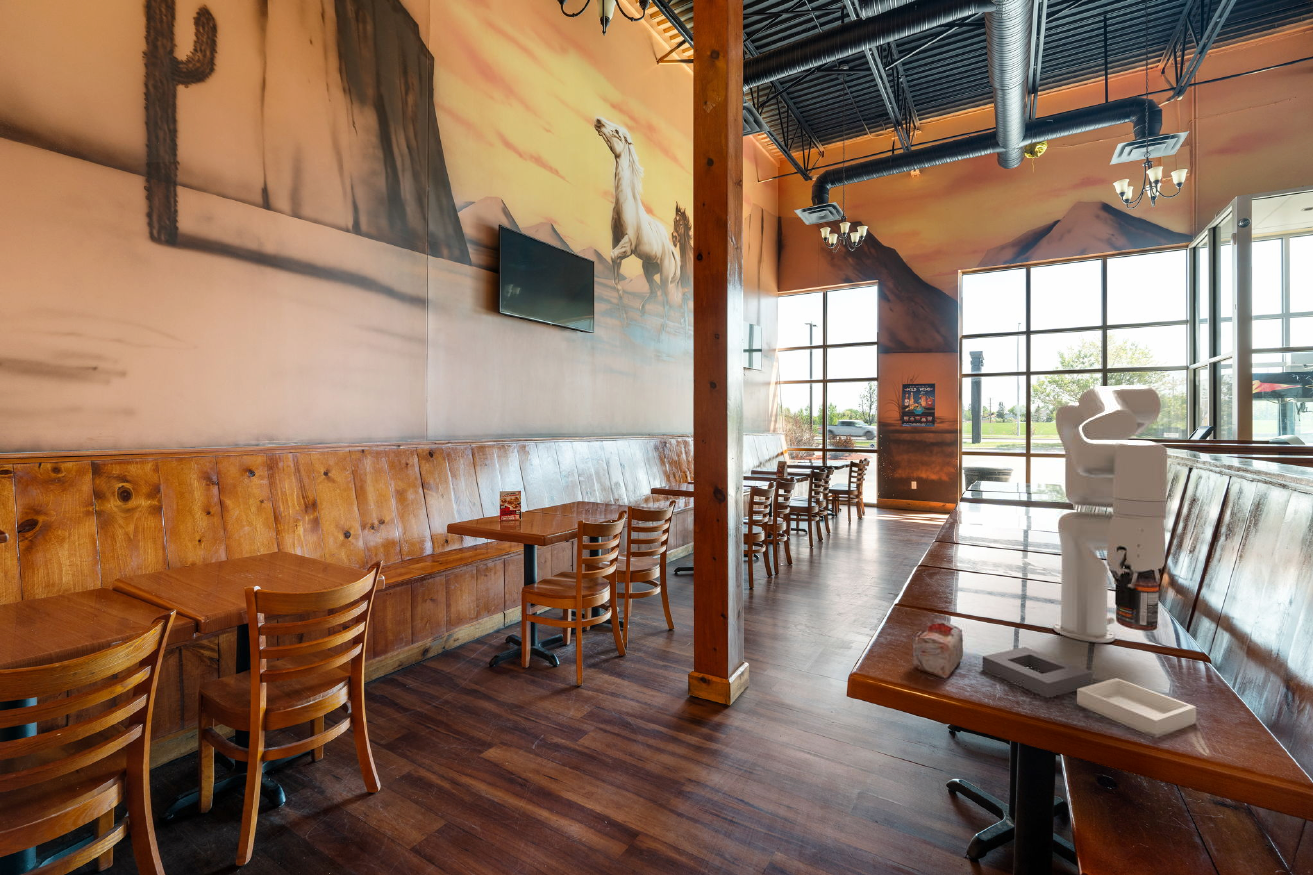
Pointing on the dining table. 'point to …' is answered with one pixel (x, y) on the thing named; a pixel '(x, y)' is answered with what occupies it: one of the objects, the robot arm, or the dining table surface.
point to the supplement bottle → (1141, 604)
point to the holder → (1049, 684)
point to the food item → (938, 649)
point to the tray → (1137, 707)
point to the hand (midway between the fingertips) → (1136, 604)
